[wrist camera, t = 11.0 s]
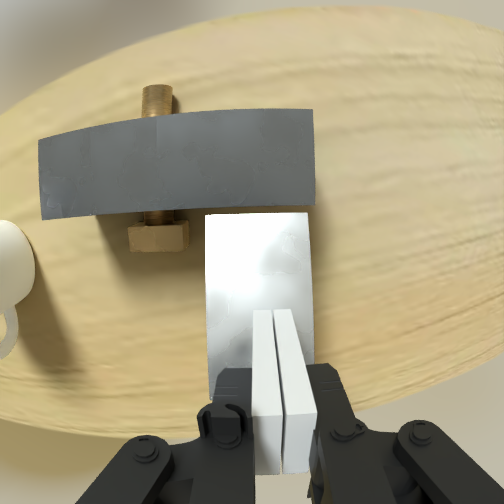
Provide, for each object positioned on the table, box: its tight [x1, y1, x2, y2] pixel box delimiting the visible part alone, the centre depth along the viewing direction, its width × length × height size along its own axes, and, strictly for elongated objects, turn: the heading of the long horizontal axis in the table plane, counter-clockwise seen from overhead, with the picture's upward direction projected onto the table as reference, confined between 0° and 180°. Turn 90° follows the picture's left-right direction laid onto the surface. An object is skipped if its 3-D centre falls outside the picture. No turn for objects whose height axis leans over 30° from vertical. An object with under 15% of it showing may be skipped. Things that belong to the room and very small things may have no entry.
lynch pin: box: [128, 85, 190, 252], centre depth 20 cm, size 12×4×2 cm, turn 1°
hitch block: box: [38, 109, 315, 220], centre depth 18 cm, size 16×5×7 cm, turn 92°
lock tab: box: [206, 213, 314, 400], centre depth 15 cm, size 5×9×1 cm, turn 2°
